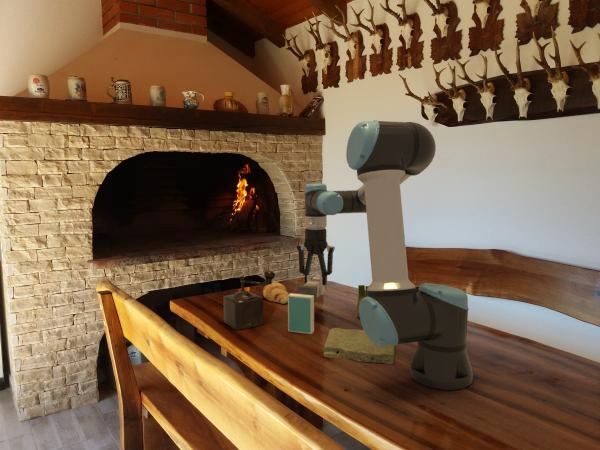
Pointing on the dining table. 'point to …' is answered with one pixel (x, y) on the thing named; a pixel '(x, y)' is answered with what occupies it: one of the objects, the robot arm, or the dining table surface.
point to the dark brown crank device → (245, 305)
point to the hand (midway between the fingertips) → (315, 292)
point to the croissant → (276, 292)
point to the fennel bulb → (361, 296)
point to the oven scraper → (312, 288)
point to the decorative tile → (356, 347)
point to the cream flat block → (301, 313)
